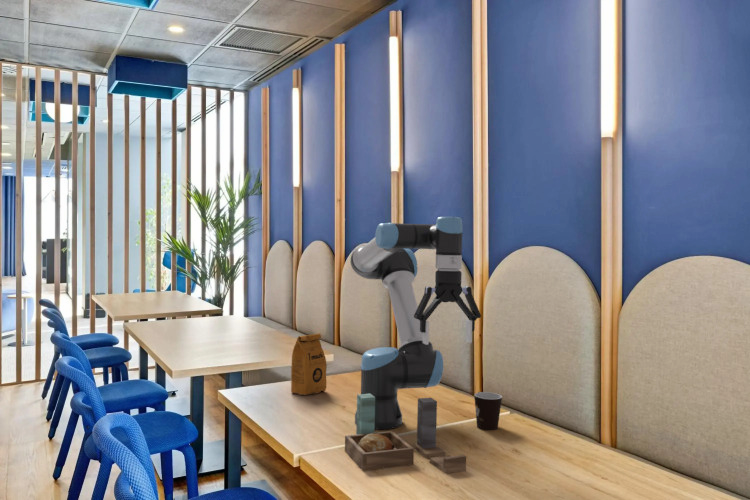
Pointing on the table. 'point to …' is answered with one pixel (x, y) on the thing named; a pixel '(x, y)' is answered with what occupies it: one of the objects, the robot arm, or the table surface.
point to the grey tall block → (427, 429)
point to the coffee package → (308, 366)
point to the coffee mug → (487, 410)
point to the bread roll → (375, 443)
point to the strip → (449, 463)
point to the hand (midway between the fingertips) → (447, 343)
